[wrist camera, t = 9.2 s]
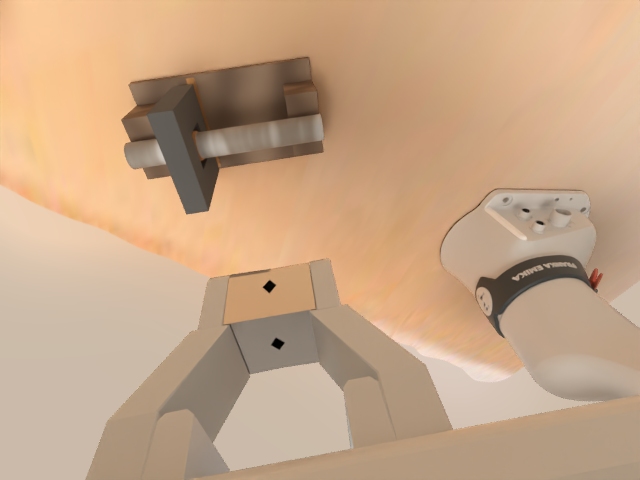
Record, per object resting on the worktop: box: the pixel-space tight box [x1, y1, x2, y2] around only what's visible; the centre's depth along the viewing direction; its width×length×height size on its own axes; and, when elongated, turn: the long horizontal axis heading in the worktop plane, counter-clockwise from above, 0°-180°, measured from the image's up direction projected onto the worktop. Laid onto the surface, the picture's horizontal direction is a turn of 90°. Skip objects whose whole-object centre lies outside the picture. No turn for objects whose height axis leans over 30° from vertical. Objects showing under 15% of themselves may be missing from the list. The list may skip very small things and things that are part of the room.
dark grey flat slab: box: [146, 84, 219, 214], centre depth 32 cm, size 2×9×9 cm, turn 6°
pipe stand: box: [121, 57, 324, 179], centre depth 35 cm, size 18×10×8 cm, turn 96°
